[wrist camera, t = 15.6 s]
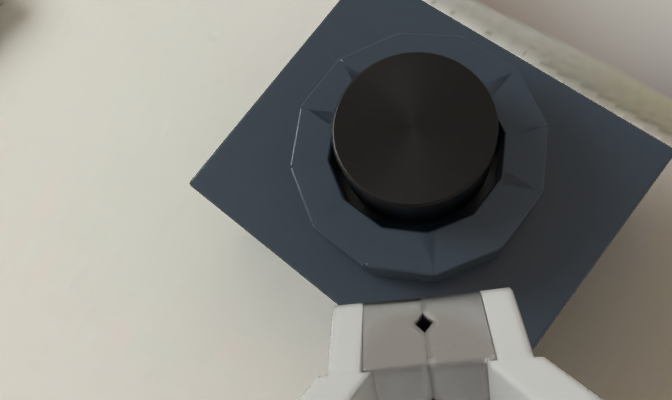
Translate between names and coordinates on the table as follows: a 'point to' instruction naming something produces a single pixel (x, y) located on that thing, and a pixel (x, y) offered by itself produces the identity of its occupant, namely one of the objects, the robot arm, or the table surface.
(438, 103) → the button
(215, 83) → the table surface
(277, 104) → the grey button box
